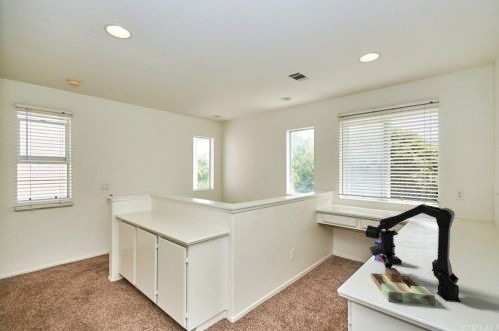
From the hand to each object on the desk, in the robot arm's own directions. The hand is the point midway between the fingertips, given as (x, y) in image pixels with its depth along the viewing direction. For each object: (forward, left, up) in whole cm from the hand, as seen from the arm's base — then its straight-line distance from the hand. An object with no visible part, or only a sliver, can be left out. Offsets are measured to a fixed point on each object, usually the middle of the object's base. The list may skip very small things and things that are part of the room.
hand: (387, 271), depth 123 cm
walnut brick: (0, +7, -1) cm, 7 cm away
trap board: (0, +13, -3) cm, 14 cm away
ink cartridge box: (-7, -22, -4) cm, 23 cm away
